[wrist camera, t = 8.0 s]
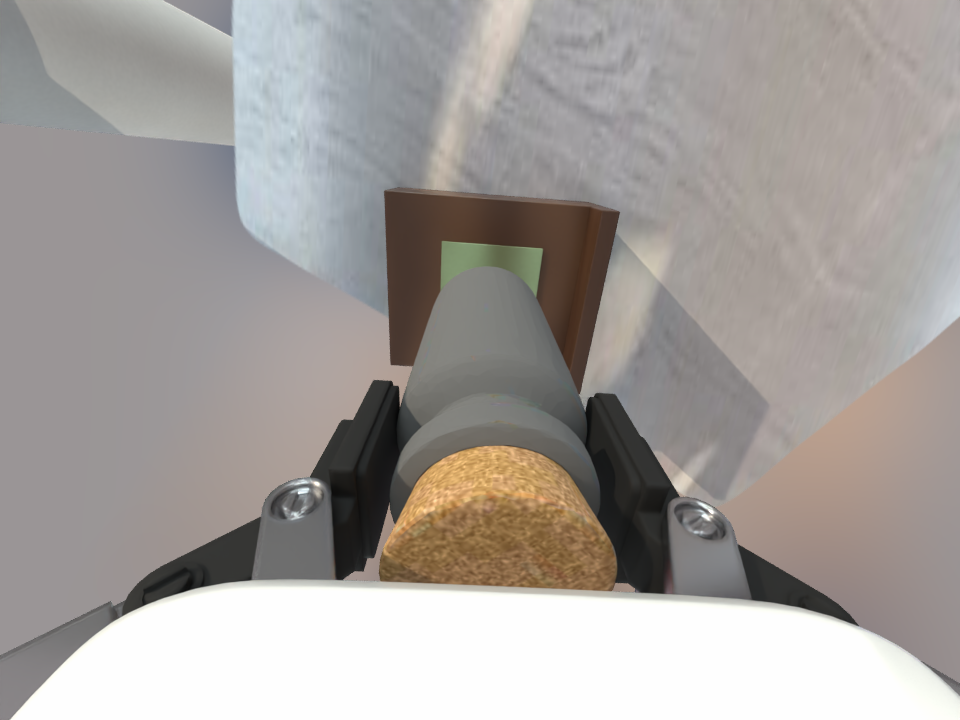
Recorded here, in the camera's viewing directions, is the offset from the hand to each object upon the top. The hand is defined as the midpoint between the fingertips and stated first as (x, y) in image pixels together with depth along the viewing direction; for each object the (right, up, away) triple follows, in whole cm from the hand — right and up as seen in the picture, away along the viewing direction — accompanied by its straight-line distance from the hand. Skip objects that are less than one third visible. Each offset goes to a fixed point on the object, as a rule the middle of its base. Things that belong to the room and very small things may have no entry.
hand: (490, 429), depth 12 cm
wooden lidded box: (0, +10, +23) cm, 25 cm away
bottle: (0, +5, +9) cm, 10 cm away
